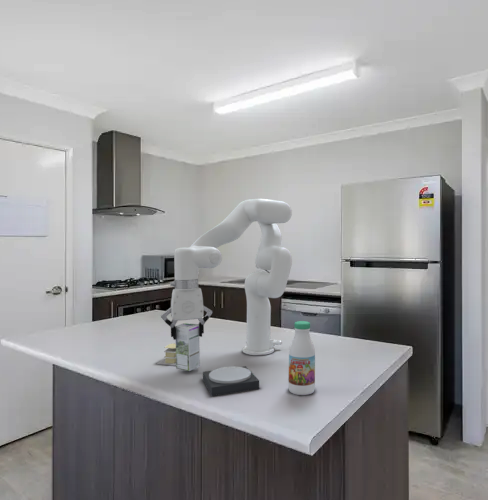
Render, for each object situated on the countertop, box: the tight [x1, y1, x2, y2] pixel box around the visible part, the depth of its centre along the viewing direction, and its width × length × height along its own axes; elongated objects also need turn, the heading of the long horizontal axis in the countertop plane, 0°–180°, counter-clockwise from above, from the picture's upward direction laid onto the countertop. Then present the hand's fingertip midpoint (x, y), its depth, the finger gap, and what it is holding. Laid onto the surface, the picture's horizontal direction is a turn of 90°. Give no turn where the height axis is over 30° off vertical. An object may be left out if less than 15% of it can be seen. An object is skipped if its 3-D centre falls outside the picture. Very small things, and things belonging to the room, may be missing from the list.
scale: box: [202, 365, 260, 397], centre depth 112 cm, size 14×14×3 cm
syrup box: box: [175, 322, 201, 372], centre depth 122 cm, size 6×6×14 cm
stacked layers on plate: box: [156, 342, 176, 366], centre depth 134 cm, size 10×9×6 cm
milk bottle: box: [288, 320, 316, 396], centre depth 107 cm, size 8×8×20 cm
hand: (187, 337), depth 122 cm, fingers closed on syrup box, 7 cm apart
